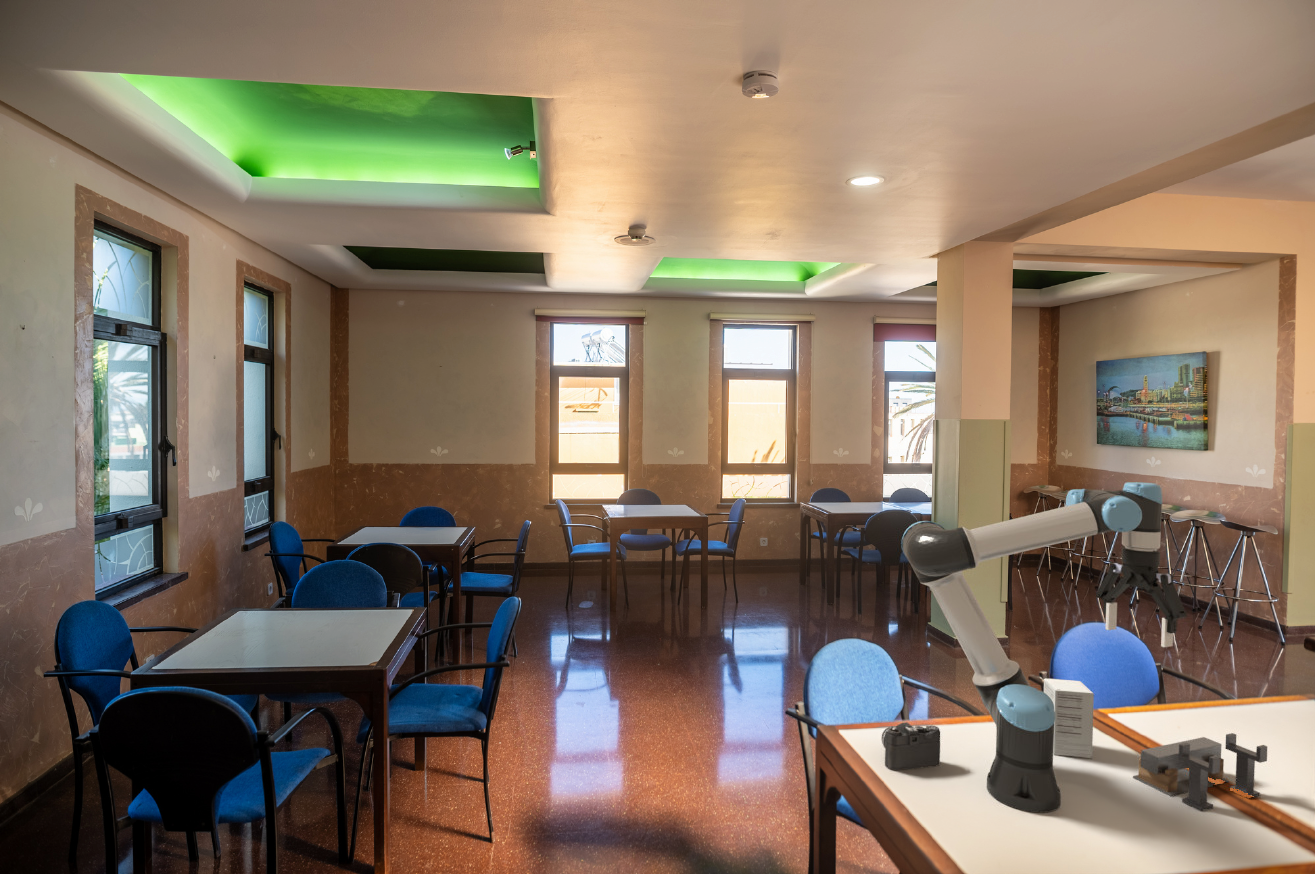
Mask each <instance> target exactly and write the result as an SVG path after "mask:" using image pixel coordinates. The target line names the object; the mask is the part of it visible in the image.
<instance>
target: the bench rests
mask: <svg viewBox="0 0 1315 874" xmlns="http://www.w3.org/2000/svg"><path fill="white" fill-rule="evenodd" d="M1224 760H1225V759H1223V758H1222V757H1221V758H1220V772H1219V773H1215V774H1211V773H1209V772H1208V777H1209V778H1212V779H1214V780H1216V779H1221V780H1223V781H1225V782H1228V783H1230V780H1228V779H1227V778H1224V766H1225V764H1224ZM1132 779H1135V780H1137V781H1139V782H1141V783H1142V784H1144V785H1147V786H1148V787H1151V788H1153V789H1154V790H1157V791H1159V792H1160V793H1163V794H1165V795H1167V796H1169V797H1175V796H1178V795H1182V794H1188V793H1189V771H1188V770H1187V769H1181V770H1177V769H1175V768H1172V769H1168V770H1165V773H1163V774H1159V775H1157V774H1155V773H1153V772H1151V771H1148V770H1146V769H1144V768H1142V767H1141V757H1139V759H1138V774H1136V775H1132ZM1214 784H1215V783H1211V782H1209V781H1208V785H1207V789H1208V788H1212V787H1214V786H1213V785H1214Z"/></svg>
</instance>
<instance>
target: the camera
mask: <svg viewBox="0 0 1315 874" xmlns="http://www.w3.org/2000/svg"><path fill="white" fill-rule="evenodd" d="M881 743H882V746H883V748H884V766H885V767H886V768H887V769H889V770H891V771H901V770H912V769H911V768H914V769H921V767H923V768H929V767H928V766H933V767H937V766H936V765H938V766H939V765H940V761H941V759H940V758H941V731H940V728H939V727H938V726H936V725H933V724H932V725H928V724H926V725H925V727H923V726H921V725H915V726H913V725H911V724H910V723H909V722H902V723H899V724H897V725H896V726H895V725H894V726H893V725H892V726H889V727H886V728H885V729H884V730H883V731H882V734H881Z"/></svg>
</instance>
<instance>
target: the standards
mask: <svg viewBox="0 0 1315 874" xmlns="http://www.w3.org/2000/svg"><path fill="white" fill-rule="evenodd" d="M1224 748H1225V750H1227V751H1230V752H1232V753H1235V754H1236V761H1235V764H1236V765H1235V784H1234V785H1231V786H1228V788H1233V789H1234V788H1235V789H1239V790H1241V791H1243V792H1244V793H1248V795H1252V796H1254V798H1257V797H1261V795H1260V794H1261V792H1260V791H1257V790H1255V789H1254V788H1255V770H1256V769H1255V768H1256V766H1255V765H1256V762H1257V763H1260V764H1261V763H1265V762H1267V761H1268V746H1267V745H1265V744H1261V745H1257V746H1256V748H1255V749H1256V751H1254V750H1251V749H1249V748H1246V747H1243V746H1241V745H1239V744H1237V734H1236V733H1233V732H1232V733H1228V734H1225V747H1224ZM1179 759H1180V760H1182V761H1184V762H1186V763H1189V764H1190V766H1189V792H1188V793H1187V794H1188V796H1187V797H1183V798H1181V802H1182V803H1183V804H1186V805H1187V806H1189V807H1191V808H1193V809H1195V810H1197V811H1199V812H1203V811H1207V810H1211V809H1214V804H1213V803H1211V802H1208V788H1207V785H1208V772H1209V773H1211V774H1215V773H1219V772H1220V757H1219V756H1217V755H1216V756H1211V757H1209V763H1208V762H1205V761H1203V760H1201V759H1198V758H1196V757H1194V756H1191V755H1190V744H1188V743H1183V744H1179ZM1237 791H1238V790H1237Z"/></svg>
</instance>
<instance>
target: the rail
mask: <svg viewBox="0 0 1315 874" xmlns="http://www.w3.org/2000/svg"><path fill="white" fill-rule="evenodd" d="M1183 743H1188V744H1190V755H1191V756H1194V757H1196V758H1198V759H1201V760H1203V761H1205V762H1208V763H1209V757H1211V756H1216V755H1217V756H1219V757H1220V758H1222V743H1219V742H1218V741H1215V740H1213V739H1210V738H1207V737H1205V736H1202V737H1197V738H1194V739H1193V738H1192V739H1188V740H1184V741H1178V742H1174V743H1170V744H1169V743H1168V744H1163V745H1159V746H1155V747H1154V746H1153V747H1150V748H1144V749H1140V758H1141V767H1142V768H1144V769H1146V770H1148V771H1151V772H1153V773H1155V774H1157V775H1159V774H1163V773H1165V770H1168V769H1172V768H1175V769H1177V770H1181V769H1185V768H1189V766H1190V764H1189V763H1186V762H1184V761H1182V760H1180V759H1179V744H1183Z"/></svg>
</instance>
